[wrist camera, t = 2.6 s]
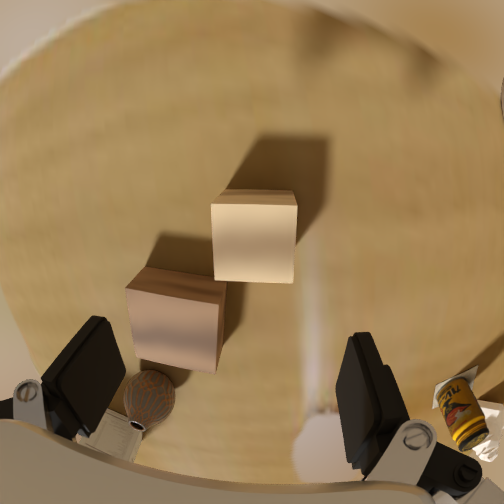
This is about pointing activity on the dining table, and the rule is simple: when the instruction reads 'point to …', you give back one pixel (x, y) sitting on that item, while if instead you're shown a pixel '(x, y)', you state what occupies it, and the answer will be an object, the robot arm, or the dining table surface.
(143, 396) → the vase
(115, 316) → the dining table surface
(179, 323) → the walnut block
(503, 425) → the white faceted lump
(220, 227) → the oak cube
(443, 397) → the condiment
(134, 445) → the supplement box
